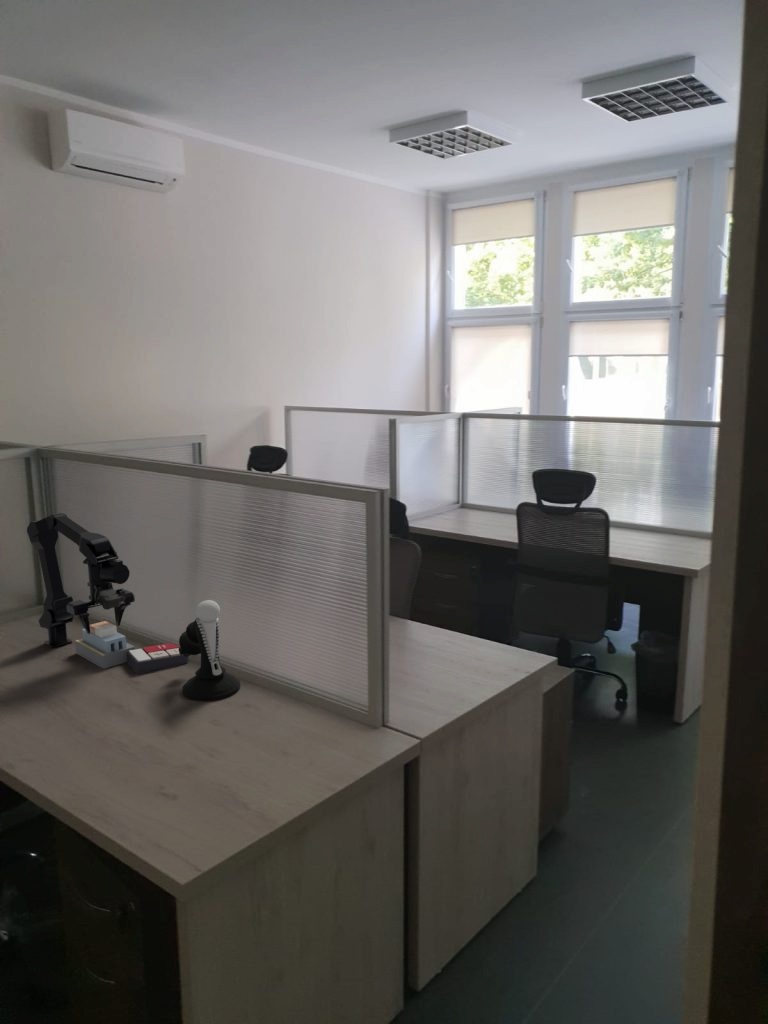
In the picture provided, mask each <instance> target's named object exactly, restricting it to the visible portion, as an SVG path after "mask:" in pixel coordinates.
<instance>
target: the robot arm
mask: <svg viewBox="0 0 768 1024" xmlns="http://www.w3.org/2000/svg"><path fill="white" fill-rule="evenodd" d="M26 533H27V536H28V539H29V542H30V543H31V545H32V546H34V548H35V549H36V550H37V551H38V557H39V562H40V567H41V571H42V576H43V581H44V586H45V592H46V597H45V600H44V602H43V613H42V615H41V616H40V617H39V619H38V624H39V627H40V628H43V629H45V630H47V640H45V641H44V642H43V644H45V645H47V646H49V647H50V648H56V647H59V646H64V645H68V644H72V643H73V640H72V639H71V638H70V639H69V637H68V635H69V634H68V626H67V624H69V623H72V622H73V621H74V616H76V617H77V619H78V620H79V621H80V622H81V625H82V626H83V629H84V628H85V630H86V632H87V633H88V634H90V625H91V624H90V619H89V617H90V613H88V611H89V609H90V608H95V607H99V606H100V607H101V606H102V608H103V609H104V610H110V609H113V610H114V618H115V625H116V627H120V625H121V622H122V618H123V615H124V612H125V610H126V609H127V608H128V606H131V605H132V603H134V602H135V601H136V599H135V596H136V595H135V594H134V592H132V591H129V590H127V589H125V588H124V587H122V588H117V589H114V587H113V584H116V585H123V584H125V583H126V582H128V580H129V578H130V570H129V568H128V566H127V565H126V564H124V563H123V559H119V555H118V553H117V551H116V550H115V549H114V546H113V545H112V543H111V541H110V540H109V538H108V537H107V536H105V535H103V534H100V533H98V532H97V533H95V532H90V531H88V530H87V529H85V528H84V527H83V526H81V525H80V524H78V523H77V522H75V521H74V520H72V519H71V518H69V517H68V516H67V514H66V513H64V512H59V513H52V514H50V515H48V516H46V517H44V518H42V519H40V520H34V521H30V522H29V523H28V526H27V527H26ZM59 533H60V534H62V535H63V536H65V537H66V538H67V539H69V540H70V541H72V542H73V543H74V544H76V545H77V546H78V551H79V552H80V553H81V554H82V555H83V556H84V557H85V559H84V560H83V561H82V563H83V565H87V573H88V575H87V576H88V582H86V583H87V587H89V594H90V595H88V600H90V601H83V600H81V599H79V600H78V599H77V600H74V599H73V597H72V595H71V596H69V595H68V594H67V593H66V592H65V590H64V585H63V580H62V575H61V570H60V565H59V561H58V560H59V559H58V556H57V550H56V546H57V542H58V540H59Z"/></svg>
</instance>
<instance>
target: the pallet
mask: <svg viewBox="0 0 768 1024" xmlns="http://www.w3.org/2000/svg"><path fill="white" fill-rule="evenodd" d="M81 632H82V633H81V634H82V639H83V640H84V641H86V642H88V643H90V644H91V645H93V646H95V647H97V648H99V649H101V650H103V651H104V652H106V653H109V652H111V649H113V650H114V651H116V650H119V647H121V648H122V649H124V648H127V646H126V643H127V636H126V635H124V634H122V633H120V632H118V631H117V634H113V635H109V636H105V637H102V638H101V637H99V636H97V635H95V634H93V633H91V632H90V634H88V633H87V632H86V630H85V628H84V627H83V628H82V629H81Z"/></svg>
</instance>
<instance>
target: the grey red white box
mask: <svg viewBox="0 0 768 1024" xmlns="http://www.w3.org/2000/svg"><path fill="white" fill-rule="evenodd" d="M170 643H171V642H169V643H164V644H158V645H151V646H145V647H142V648H135V650H129V651H128V652H127V662H126V663H127V664H128V665H129V666H130V668H132V670H134V672H135V673H136V674H137V675H139V674H145V673H147V672H152V671H155V670H160V669H166V668H171V667H175V666H179V665H184V664H188V663H189V656H188V657H185V656H184V655H180V653H179V648H180V647H179V646H180V645H179V646H176V645H174V644H170Z"/></svg>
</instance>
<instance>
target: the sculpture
mask: <svg viewBox="0 0 768 1024" xmlns="http://www.w3.org/2000/svg"><path fill="white" fill-rule="evenodd" d="M195 612H196V616H197V617H196V618H195V620H194V621H192V622H190V623H188V625H187V626H186V628H185V631H183V632H182V633H181V634H180V636H179V639H178V643H179V644H178V645H179V646H180V648H179V653H180V655H184V656H185V657H188V658H189V657H190V656H197V655H200V667H199V668H198V669H197V670H196V671H195V675H193V676H192V677H190V678H189V679H188V680H187V681H186V682H185V683H184V684H183V686H182V688H181V689H182V691H181V692H182V695H183V696H184V697H185V698H186V699H189V700H192V701H196V702H197V701H198V702H212V701H218V700H223V699H226V698H229V697H231V696H233V695H235V694H237V693H238V692H239V691H240V689H241V681H240V680H239V678H237V677H236V676H235V675H233V674H232V673H229V672H226V671H227V669H226V668H225V667H223V666H221V663H220V646H221V645H220V644H221V634H220V633H221V631H220V629H221V627H220V624H219V622H220V621H219V619H220V618H218V617H219V616H220V615H221V607H220V606H219V603H217V602H216V601H215V600H212V599H210V600H209V599H206V600H203V601H201V602H199V604H198V605H197V606H196V609H195Z"/></svg>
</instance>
